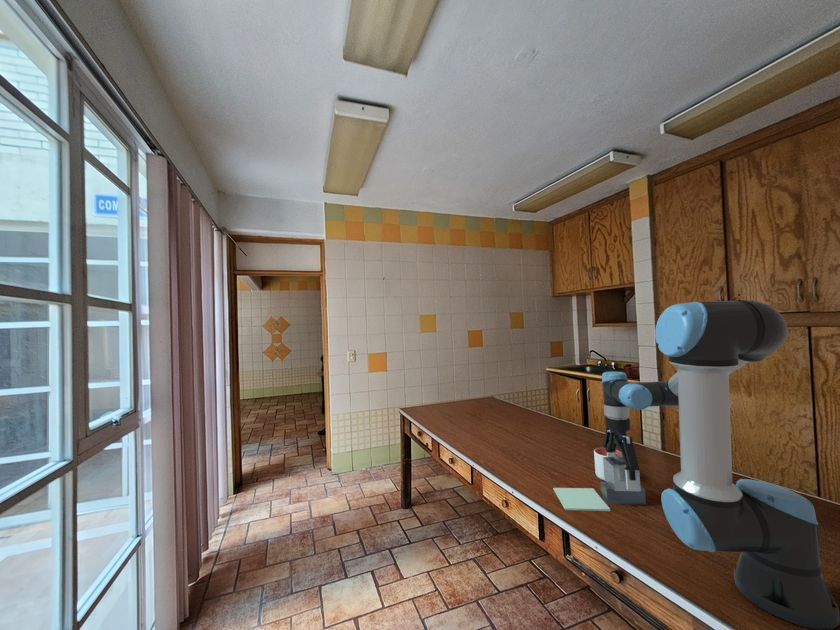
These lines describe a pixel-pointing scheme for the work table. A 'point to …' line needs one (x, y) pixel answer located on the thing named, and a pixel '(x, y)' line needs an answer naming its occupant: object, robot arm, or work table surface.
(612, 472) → the collar
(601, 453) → the cup
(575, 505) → the mat
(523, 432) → the work table surface
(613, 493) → the grey block
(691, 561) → the work table surface
